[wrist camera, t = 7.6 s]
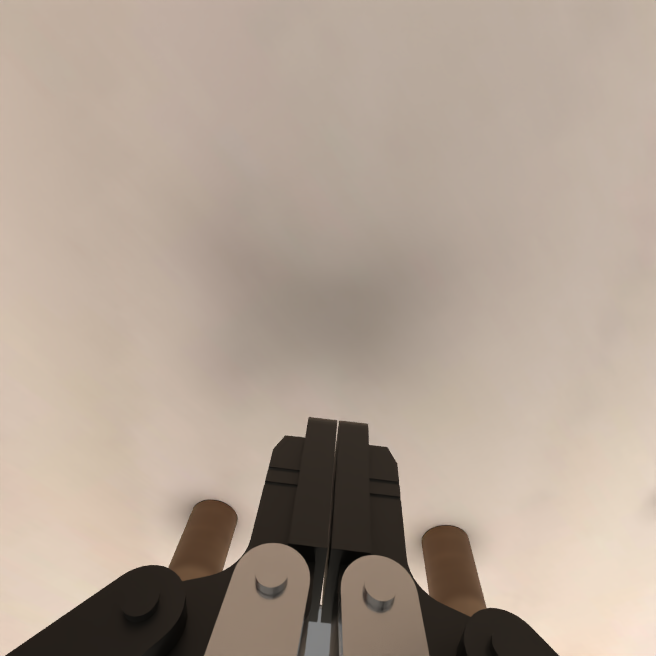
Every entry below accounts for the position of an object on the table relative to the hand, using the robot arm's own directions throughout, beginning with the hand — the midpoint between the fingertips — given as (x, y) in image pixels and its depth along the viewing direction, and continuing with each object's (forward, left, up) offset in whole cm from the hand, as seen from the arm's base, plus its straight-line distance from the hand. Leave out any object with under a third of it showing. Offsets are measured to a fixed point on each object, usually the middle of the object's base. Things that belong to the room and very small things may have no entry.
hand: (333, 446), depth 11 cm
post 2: (+14, +7, -9) cm, 18 cm away
